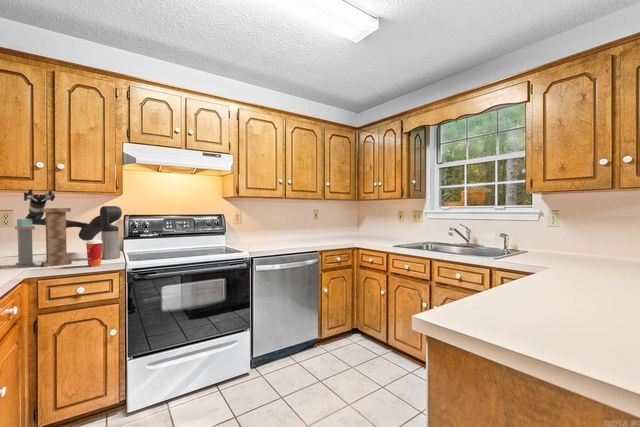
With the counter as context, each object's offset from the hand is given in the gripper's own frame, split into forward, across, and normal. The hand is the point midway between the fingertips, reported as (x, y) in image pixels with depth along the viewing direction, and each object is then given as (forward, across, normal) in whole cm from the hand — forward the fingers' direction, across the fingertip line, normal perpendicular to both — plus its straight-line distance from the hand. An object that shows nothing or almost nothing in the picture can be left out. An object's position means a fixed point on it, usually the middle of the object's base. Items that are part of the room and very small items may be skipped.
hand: (40, 190), depth 192 cm
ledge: (-8, -9, +45) cm, 47 cm away
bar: (+2, -9, +25) cm, 27 cm away
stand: (0, +3, +50) cm, 50 cm away
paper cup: (+19, +16, +61) cm, 65 cm away
